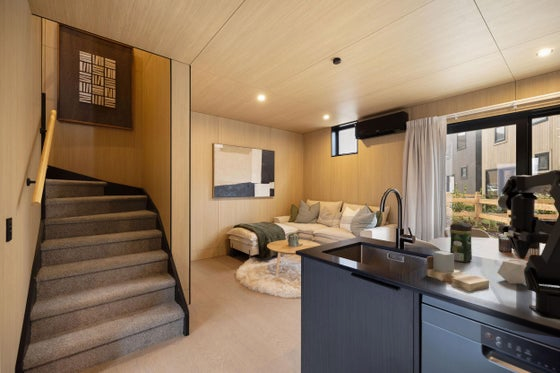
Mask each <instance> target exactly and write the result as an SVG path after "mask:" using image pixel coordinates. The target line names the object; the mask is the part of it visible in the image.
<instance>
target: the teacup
mask: <svg viewBox="0 0 560 373" xmlns="http://www.w3.org/2000/svg"><path fill="white" fill-rule="evenodd" d="M506 261H517V262H518V263H519V264H520V265H522V266H523V267H524V268H525V267H526V266H527V265H526V263H527V262H528V260H524V259H515V258H507V259H506Z"/></svg>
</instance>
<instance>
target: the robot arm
mask: <svg viewBox="0 0 560 373" xmlns="http://www.w3.org/2000/svg"><path fill="white" fill-rule="evenodd" d="M549 187H550V189H549V193H548V194H549V196H551V198H552V199H553V201H554V203H553V206H554V209H556V212H557V213H558V215H557V218H556V220H555V223H554V224H553V225H552V224H548V223H546V221H544V220H541V219H540V218H539V216H536V215H535V210H536V209H535V206H536V204H535V203H536V201H537V200H539V198H538V197H537V195H535V193H537V192H539V191H541V190H542V189H543V188H549ZM501 190H502V191H501V192H502V193H501V194H502V195H501V196H500V197H499V198H498V200H497V204H498V207H499V208H501V209H502V210H506V211H511V212H510V214H508V216H507V217H508V218H509V219H510V224H501V225H499V226H498V230H497V232H498V233H500V234H504V233H508V234H509V235H506V238H507V239H508V241H509V242H510V244H511V246H512V247H513V249H514V251H515V252H516V255H517V256H518V258H519V260H525V259H526V256H527V255H528V253H529V251H530V248H531V246H532V245H534V244H536V243H538V244H545V245H544V246H543V249H542V251H541V253H540V254H530V255H529V257H528V260H527V263H526V265H527V266H526V267H525V269H524V275H525V285H526V288H527V290H528V291H531V292H534V293H535V305H532V304H529V305H528V307H529V308H530V309H532V311H534V312H535V313H537V314H538V315H539V316H541V317H544V318H550V319H557V320H560V169H554V170H550V171H548V172H543V173H537V174H534V175H533V174H532V175H511V176H509V178H508V179H507V180H506V183H505V184H504V186H503V188H502V189H501Z"/></svg>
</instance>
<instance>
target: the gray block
mask: <svg viewBox="0 0 560 373" xmlns="http://www.w3.org/2000/svg"><path fill="white" fill-rule="evenodd" d="M432 256H433V269H435V270H438V271H441V272H444V273H448V272H454V269H455V261H454V254H453V253H450V252H447V251H444V250H438V251H433V255H432Z"/></svg>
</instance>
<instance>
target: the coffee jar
mask: <svg viewBox="0 0 560 373" xmlns="http://www.w3.org/2000/svg"><path fill="white" fill-rule="evenodd" d="M449 229H450V230H449V231H450V246H449V247H450V250H449V251H450V252H449V253H453V254H454V262H458V263H460V262H461V263H468V262H471V261H472V259H473V258H472V257H473V256H472V255H473V251H472V233H473V229H472V225H471V224H470V223H469V222H464V221H463V222H462V221H460V222H455V223H451V224H450V228H449Z"/></svg>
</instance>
